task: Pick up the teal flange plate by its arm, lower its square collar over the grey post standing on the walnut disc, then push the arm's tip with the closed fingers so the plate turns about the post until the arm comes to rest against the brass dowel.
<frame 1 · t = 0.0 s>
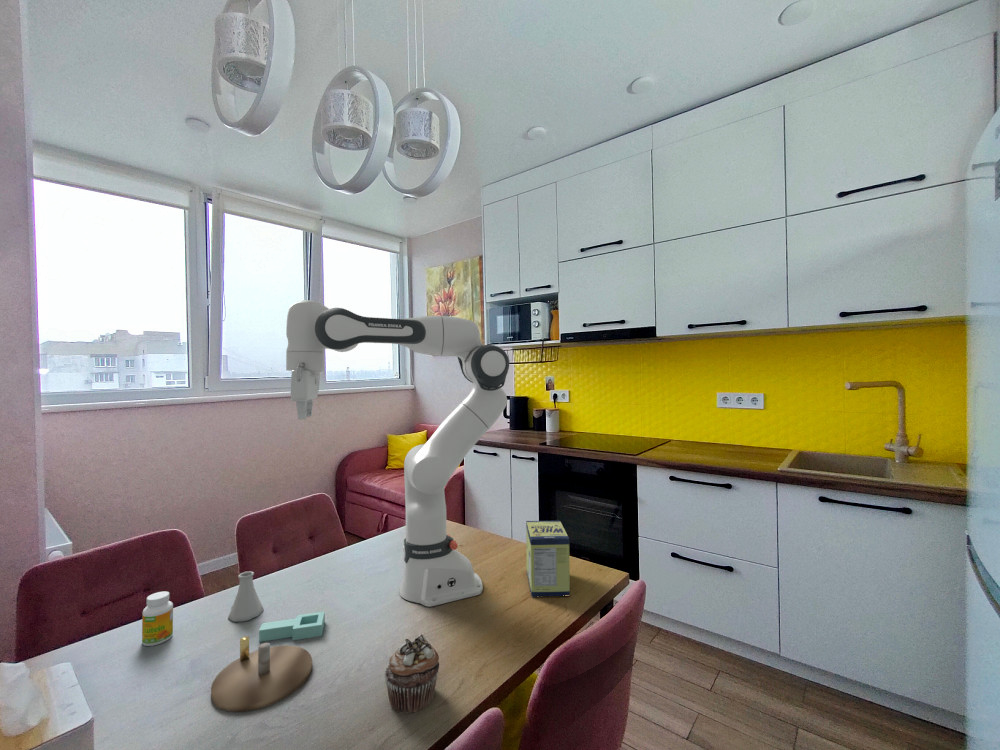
hand: (305, 417, 111), 48 cm above the table, tool pointing down, fingers open, 8 cm apart
cupcake: (411, 698, 79), on the table
protein box: (546, 585, 122), on the table
dowel: (244, 664, 88), resting on disc base
disc base: (264, 678, 84), on the table
supplement bottle: (157, 640, 97), on the table
flask: (246, 615, 107), on the table
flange: (260, 638, 97), on the table
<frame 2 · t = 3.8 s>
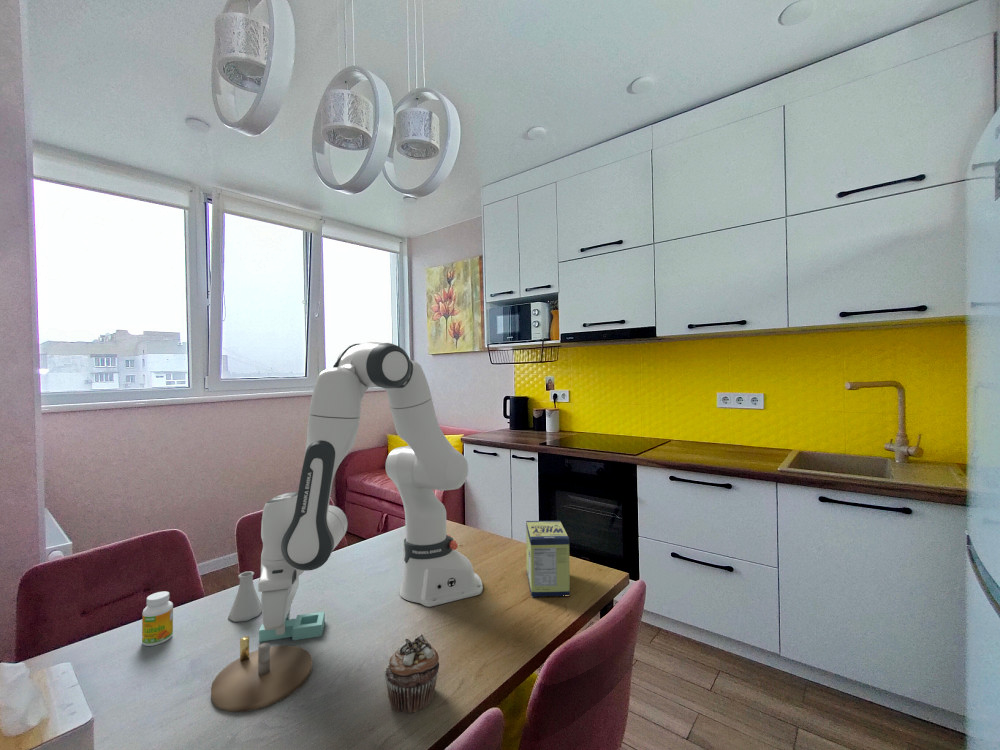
hand: (283, 627, 98), 2 cm above the table, tool pointing down, fingers closed on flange, 3 cm apart
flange: (260, 638, 97), on the table, touching gripper
everything else where it was.
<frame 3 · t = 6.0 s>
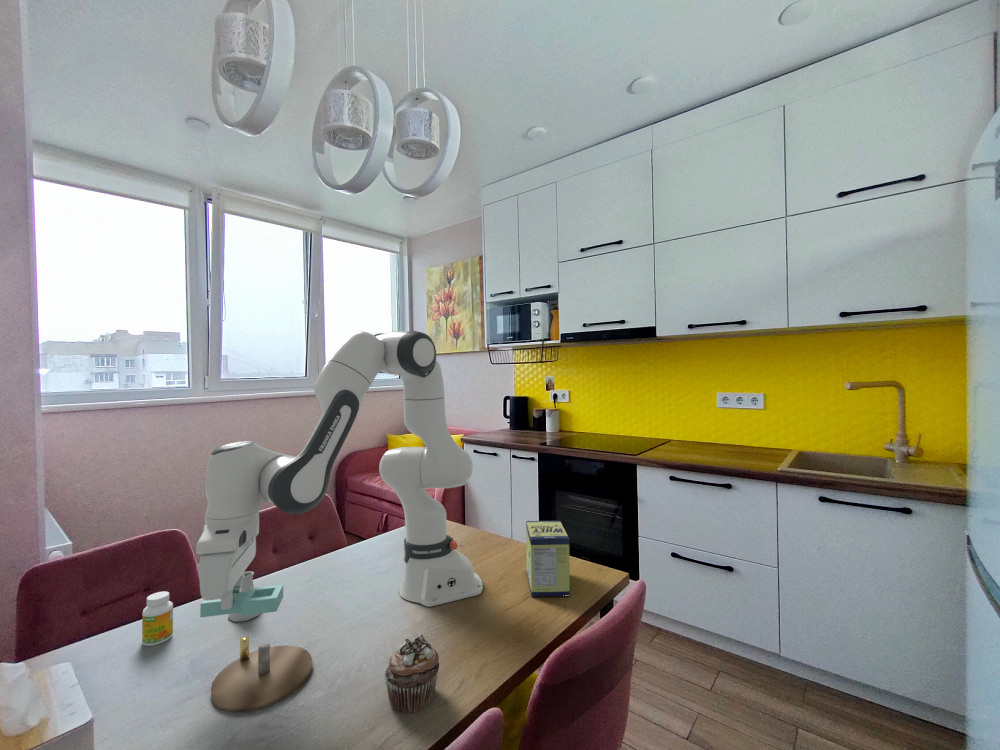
hand: (231, 601, 82), 15 cm above the table, tool pointing down, fingers closed on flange, 3 cm apart
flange: (203, 613, 81), point 14 cm above the table, touching gripper
everything else where it was.
when the fingers open (4 cm above the table, at t = 8.4 s): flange stays where it is, resting on disc base.
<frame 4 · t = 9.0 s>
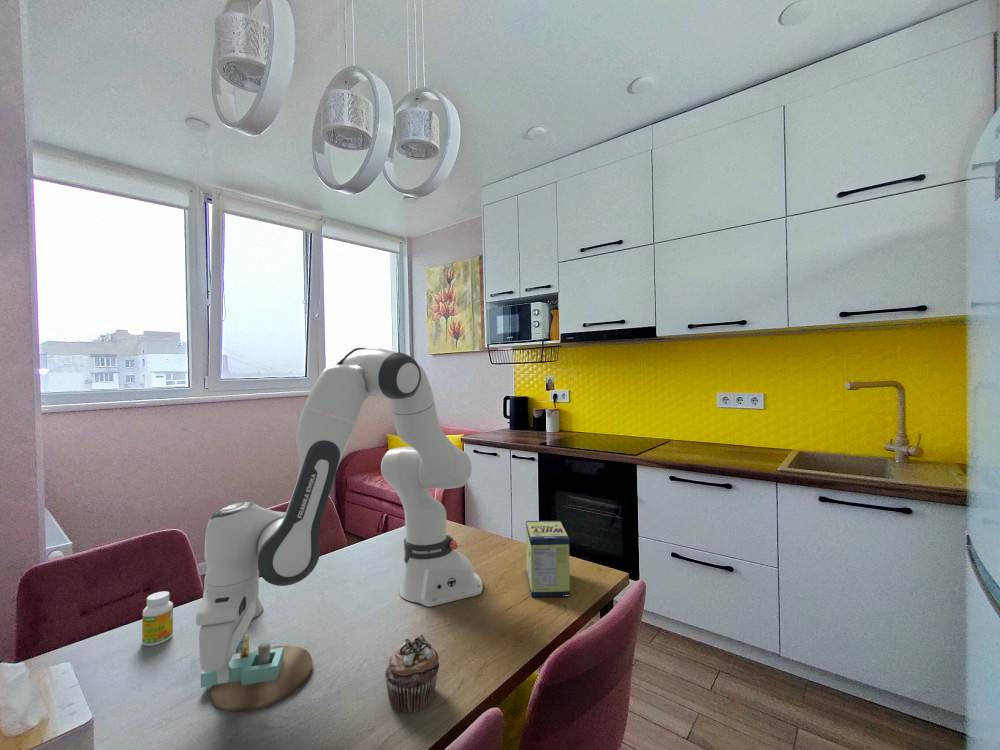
hand: (231, 665, 82), 4 cm above the table, tool pointing down, fingers open, 7 cm apart
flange: (203, 682, 81), point 1 cm above the table, touching disc base
everything else where it was.
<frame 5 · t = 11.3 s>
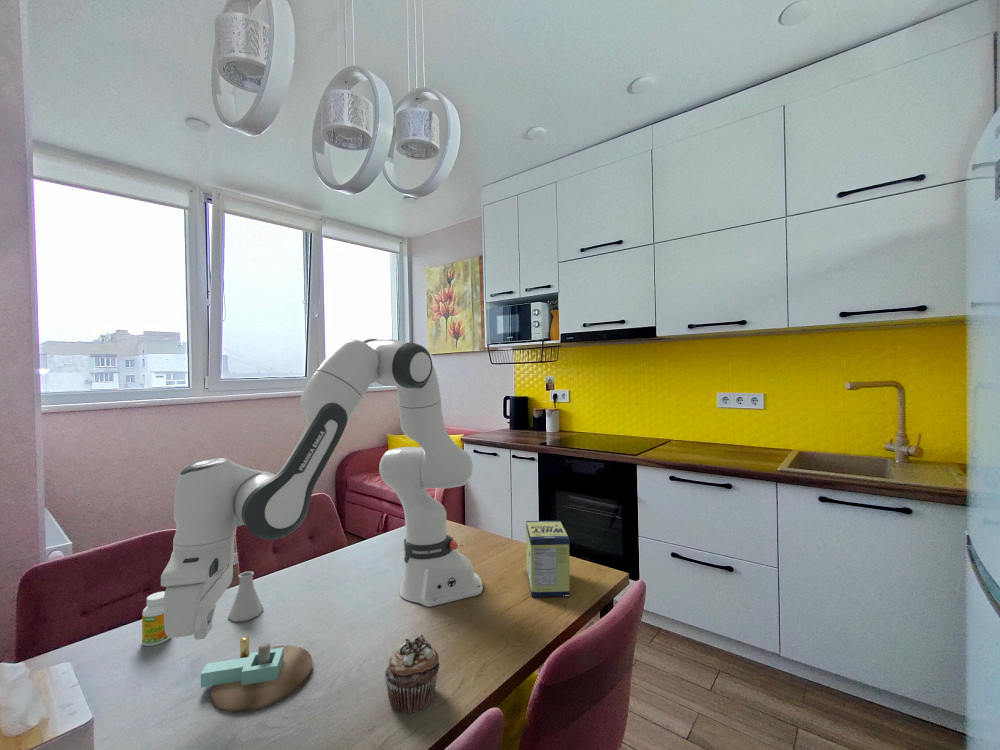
hand: (203, 634, 75), 13 cm above the table, tool pointing down, fingers closed
nothing on the table moved.
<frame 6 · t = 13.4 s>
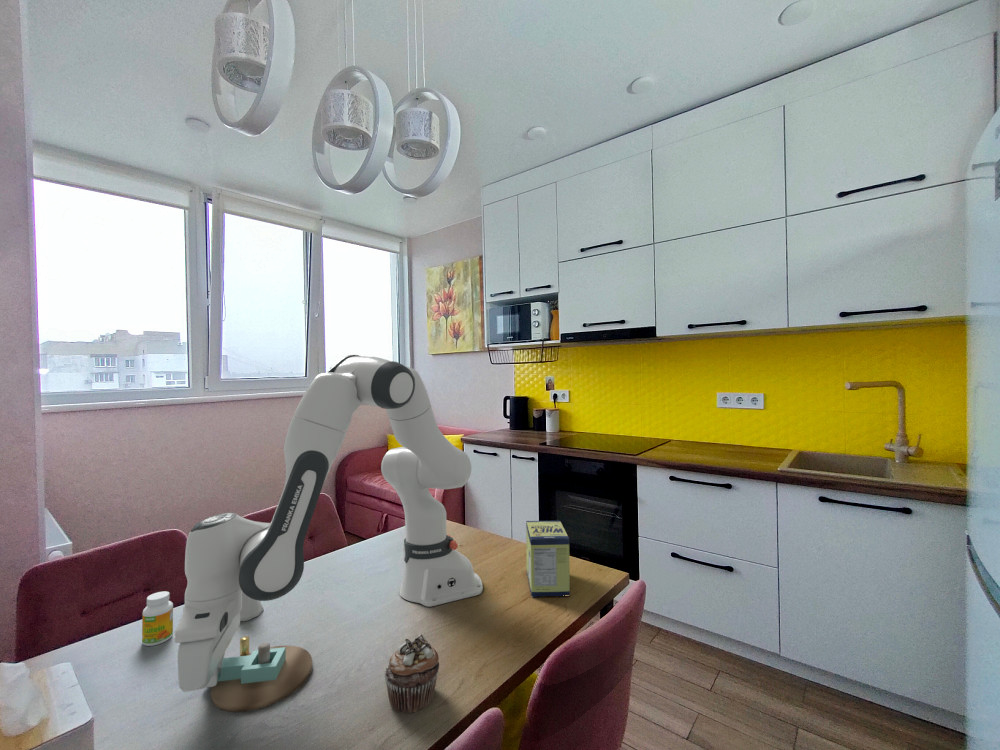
hand: (213, 681, 80), 2 cm above the table, tool pointing down, fingers closed
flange: (207, 677, 82), point 1 cm above the table, touching disc base, gripper
everything else where it was.
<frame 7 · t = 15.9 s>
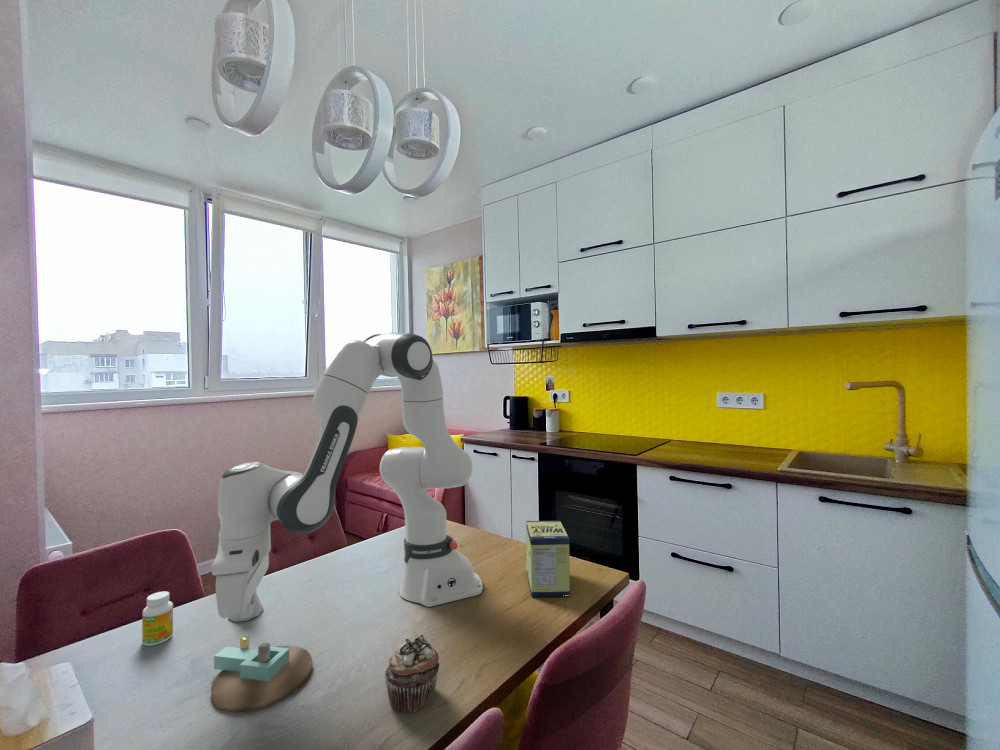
hand: (247, 614, 87), 11 cm above the table, tool pointing down, fingers closed
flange: (220, 663, 86), point 1 cm above the table, touching disc base
everything else where it was.
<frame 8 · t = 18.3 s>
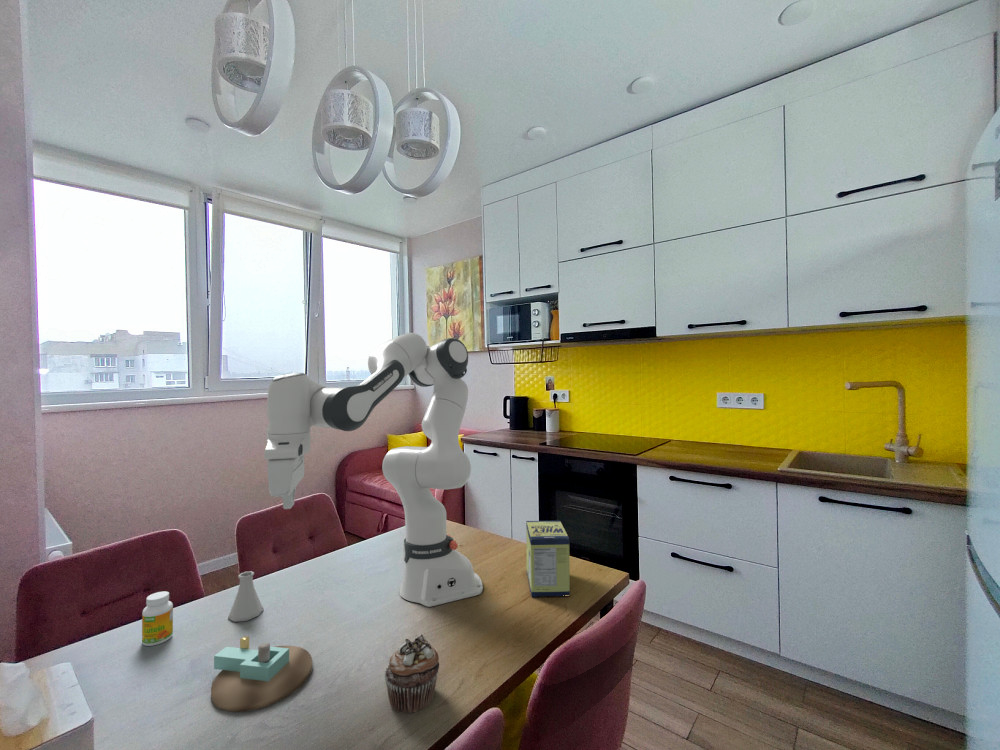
hand: (288, 507, 97), 29 cm above the table, tool pointing down, fingers closed
nothing on the table moved.
at the end: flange 0.3 cm from the target spot, point 1.2 cm above the table; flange tilted 0°; the gripper is holding nothing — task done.
